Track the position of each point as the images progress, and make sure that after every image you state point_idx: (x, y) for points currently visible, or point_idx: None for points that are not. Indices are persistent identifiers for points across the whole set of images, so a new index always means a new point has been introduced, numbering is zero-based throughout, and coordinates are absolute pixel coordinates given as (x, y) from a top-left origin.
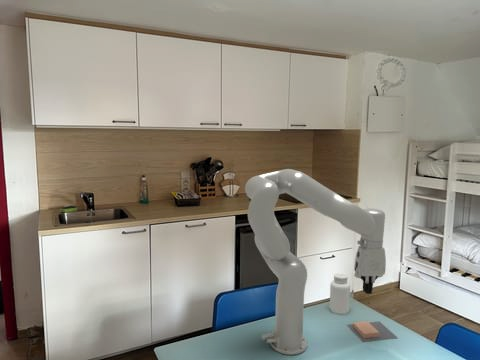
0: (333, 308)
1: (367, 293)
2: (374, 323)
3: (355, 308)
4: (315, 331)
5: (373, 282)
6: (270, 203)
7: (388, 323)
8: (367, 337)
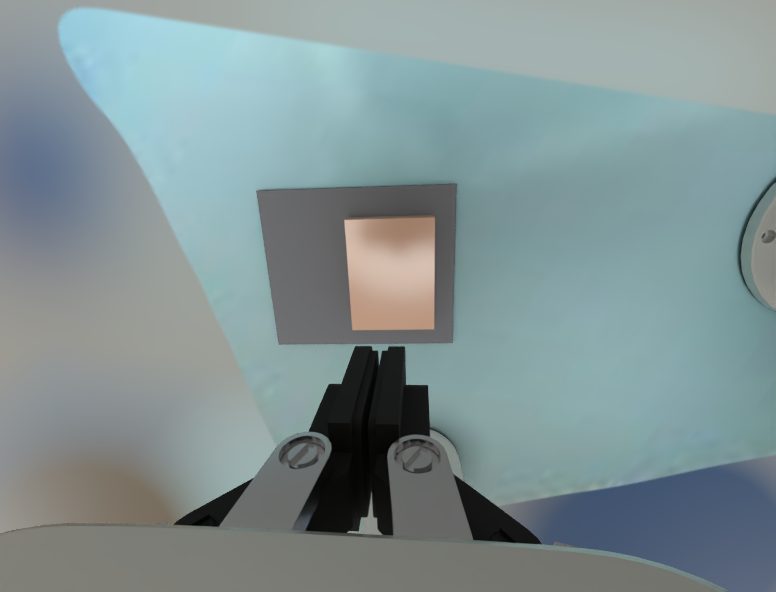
0: (458, 461)
1: (404, 350)
2: (311, 331)
3: None
4: (627, 319)
5: (298, 444)
6: None
7: (241, 327)
8: (413, 215)
